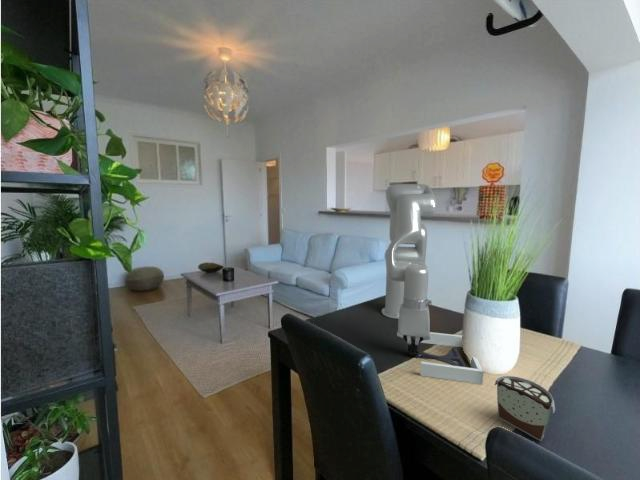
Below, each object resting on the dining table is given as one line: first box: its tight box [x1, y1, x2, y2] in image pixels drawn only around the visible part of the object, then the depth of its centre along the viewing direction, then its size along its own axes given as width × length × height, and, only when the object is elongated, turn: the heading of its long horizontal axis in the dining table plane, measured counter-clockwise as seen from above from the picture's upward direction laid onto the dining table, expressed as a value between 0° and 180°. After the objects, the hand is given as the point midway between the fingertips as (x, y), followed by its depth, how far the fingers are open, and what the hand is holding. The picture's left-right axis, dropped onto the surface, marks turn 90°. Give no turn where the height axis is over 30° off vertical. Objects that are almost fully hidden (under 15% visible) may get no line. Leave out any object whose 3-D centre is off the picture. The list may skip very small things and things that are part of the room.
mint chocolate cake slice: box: [494, 375, 556, 443], centre depth 73 cm, size 12×6×10 cm, turn 35°
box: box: [419, 331, 484, 385], centre depth 102 cm, size 23×17×4 cm
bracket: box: [415, 346, 468, 368], centre depth 103 cm, size 14×15×3 cm
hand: (412, 353), depth 105 cm, fingers closed
